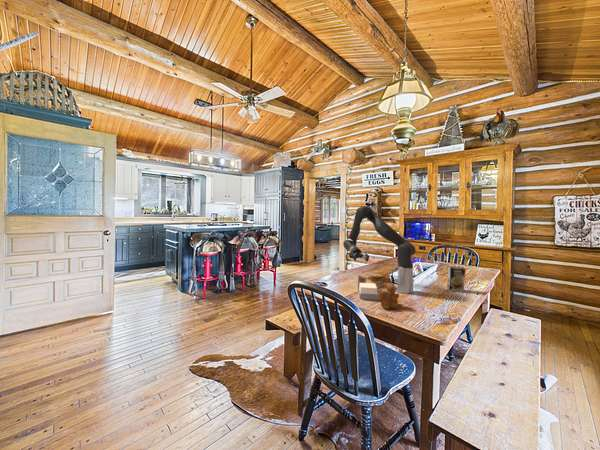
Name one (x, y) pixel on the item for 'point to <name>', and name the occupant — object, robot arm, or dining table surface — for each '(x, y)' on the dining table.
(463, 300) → the dining table surface
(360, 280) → the walnut block
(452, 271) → the coffee box
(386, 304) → the brown fuzzy figure
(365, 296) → the tower bottom
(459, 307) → the dining table surface
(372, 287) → the tower top
